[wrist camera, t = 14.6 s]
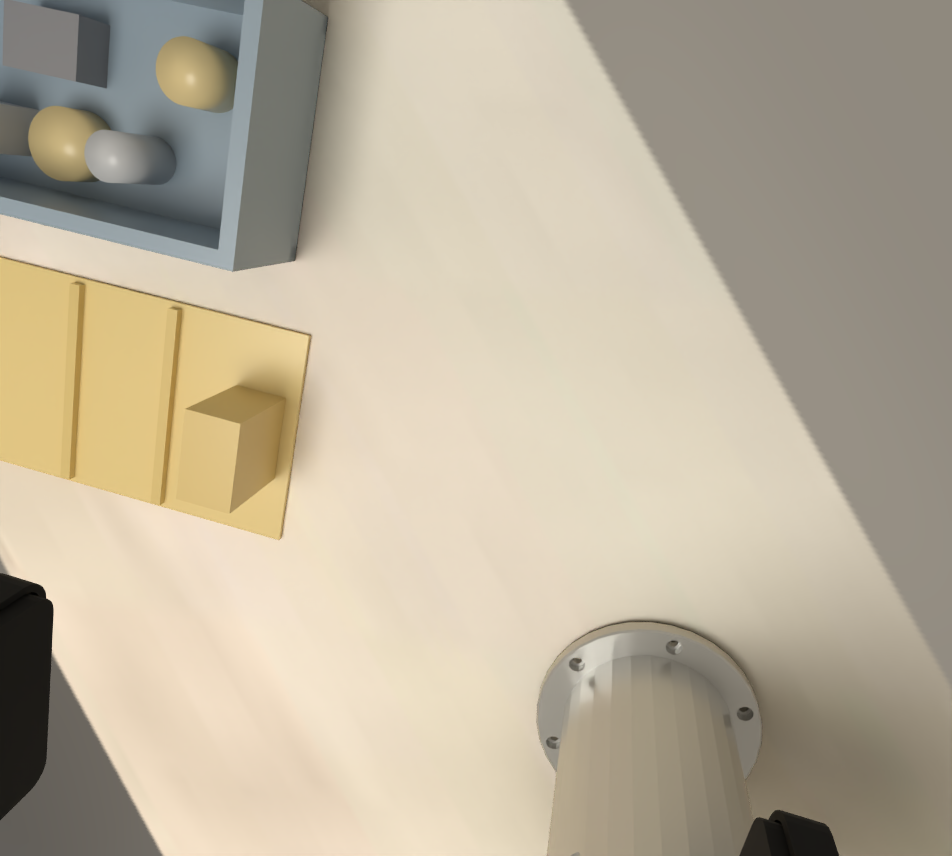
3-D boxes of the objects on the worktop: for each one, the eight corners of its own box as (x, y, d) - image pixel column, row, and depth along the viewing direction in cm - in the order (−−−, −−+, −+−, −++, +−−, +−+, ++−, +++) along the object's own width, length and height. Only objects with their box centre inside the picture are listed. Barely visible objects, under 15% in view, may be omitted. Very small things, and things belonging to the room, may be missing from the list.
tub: (328, 17, 38) (265, -23, 31) (294, 260, 42) (232, 271, 35) (-35, -58, 40) (-165, -109, 34) (-37, 180, 44) (-154, 175, 37)
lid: (314, 333, 43) (265, 354, 37) (284, 534, 47) (235, 582, 41) (-16, 250, 46) (-112, 257, 40) (-19, 448, 49) (-107, 481, 43)
